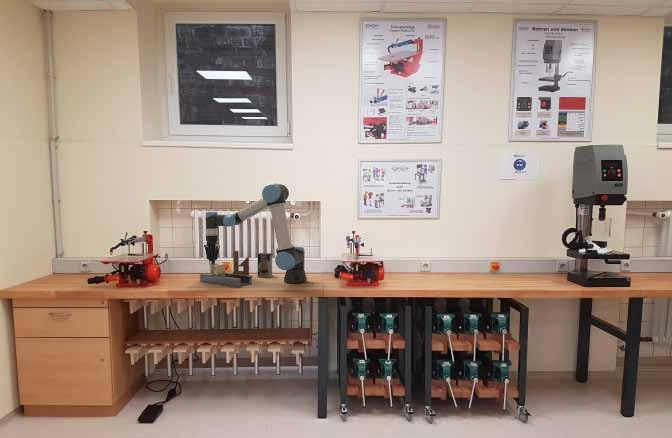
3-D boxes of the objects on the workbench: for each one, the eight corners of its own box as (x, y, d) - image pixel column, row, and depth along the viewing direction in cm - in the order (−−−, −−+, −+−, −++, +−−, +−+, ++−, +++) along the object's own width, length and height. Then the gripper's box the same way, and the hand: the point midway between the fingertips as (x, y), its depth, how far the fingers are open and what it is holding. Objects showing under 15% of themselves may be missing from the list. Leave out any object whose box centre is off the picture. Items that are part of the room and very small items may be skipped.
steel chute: (251, 284, 234) (251, 275, 233) (237, 287, 223) (237, 279, 223) (214, 277, 251) (214, 270, 250) (199, 281, 240) (199, 273, 240)
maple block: (225, 279, 242) (224, 264, 241) (216, 281, 236) (216, 265, 235) (218, 278, 245) (218, 263, 244) (210, 280, 239) (210, 264, 238)
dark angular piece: (248, 276, 256) (248, 251, 255) (232, 276, 255) (232, 251, 254) (249, 275, 260) (249, 250, 259) (233, 275, 259) (233, 250, 258)
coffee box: (257, 276, 255) (257, 253, 255) (260, 275, 262) (260, 252, 261) (269, 277, 254) (269, 254, 253) (272, 275, 261) (272, 252, 260)
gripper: (223, 235, 242) (223, 270, 243) (209, 233, 248) (209, 268, 249) (214, 235, 235) (214, 272, 236) (200, 234, 242) (200, 270, 243)
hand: (212, 270), depth 243 cm, fingers closed
